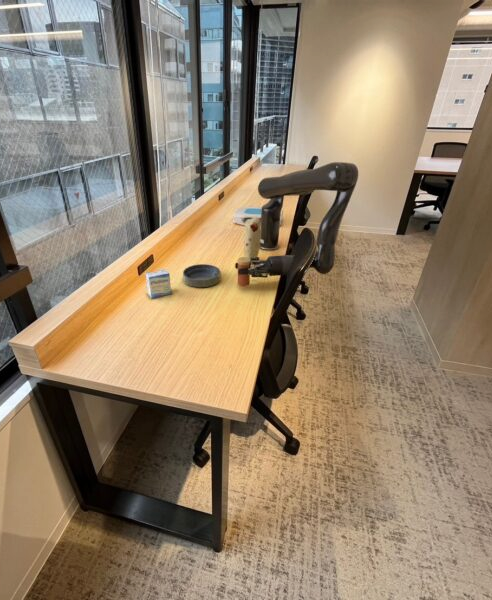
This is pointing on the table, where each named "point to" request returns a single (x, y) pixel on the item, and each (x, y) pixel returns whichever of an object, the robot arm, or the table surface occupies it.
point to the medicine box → (158, 283)
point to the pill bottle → (244, 279)
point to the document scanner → (249, 214)
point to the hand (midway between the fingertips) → (237, 268)
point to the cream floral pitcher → (252, 238)
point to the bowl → (201, 275)
